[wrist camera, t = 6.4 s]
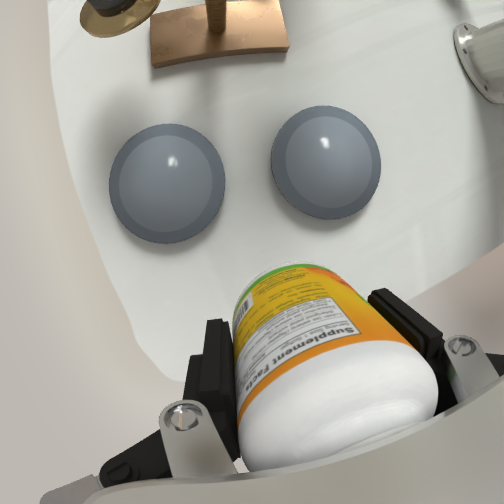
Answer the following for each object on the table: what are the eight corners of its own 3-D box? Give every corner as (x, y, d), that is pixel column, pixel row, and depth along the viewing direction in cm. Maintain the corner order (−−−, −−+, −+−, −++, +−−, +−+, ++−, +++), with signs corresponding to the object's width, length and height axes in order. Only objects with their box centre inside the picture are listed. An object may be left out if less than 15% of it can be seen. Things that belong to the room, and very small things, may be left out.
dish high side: (367, 109, 22) (373, 106, 21) (378, 211, 25) (385, 213, 24) (263, 111, 22) (265, 108, 21) (278, 224, 24) (281, 226, 23)
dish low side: (216, 117, 22) (216, 113, 20) (232, 231, 24) (233, 233, 23) (108, 141, 21) (102, 139, 20) (125, 248, 24) (120, 252, 23)
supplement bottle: (360, 334, 13) (472, 485, 3) (261, 379, 13) (297, 565, 4) (328, 237, 11) (527, 380, 2) (210, 291, 12) (185, 537, 2)
